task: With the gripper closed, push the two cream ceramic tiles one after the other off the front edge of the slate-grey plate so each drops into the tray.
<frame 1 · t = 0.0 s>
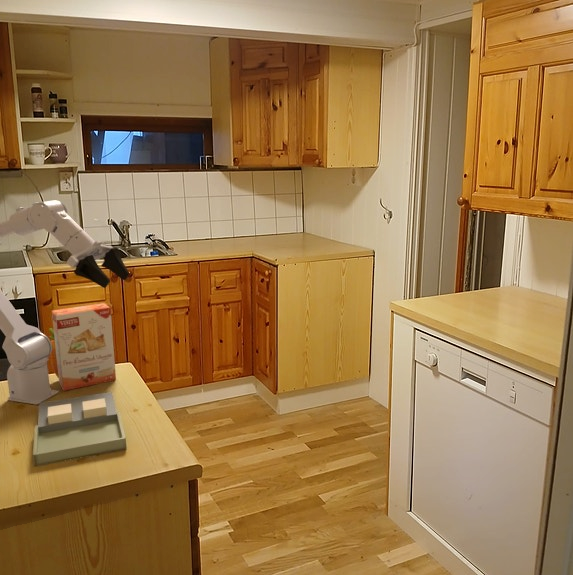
hand: (117, 280, 134), 32 cm above the countertop, tool tilted 50°, fingers open, 7 cm apart
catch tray: (80, 441, 128), on the countertop
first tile: (60, 417, 134), point 2 cm above the countertop, touching slate plate
cracker box: (88, 383, 159), on the countertop
carrot: (61, 381, 161), on the countertop
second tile: (94, 412, 137), point 2 cm above the countertop, touching slate plate
slate plate: (78, 416, 140), on the countertop
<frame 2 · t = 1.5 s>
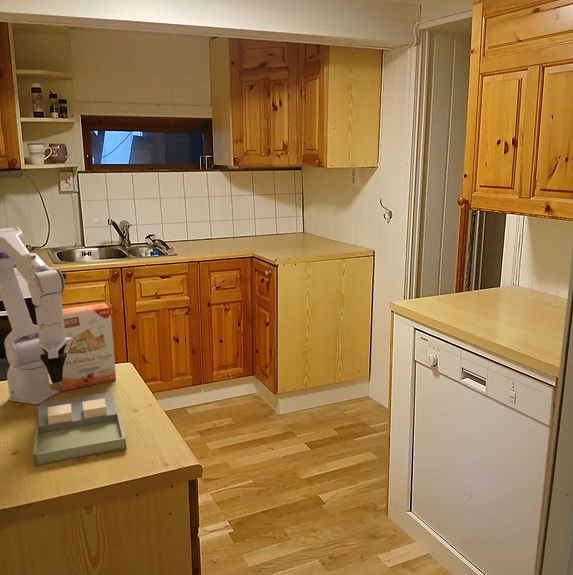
hand: (56, 377, 139), 9 cm above the countertop, tool pointing down, fingers open, 5 cm apart
nothing on the countertop moved.
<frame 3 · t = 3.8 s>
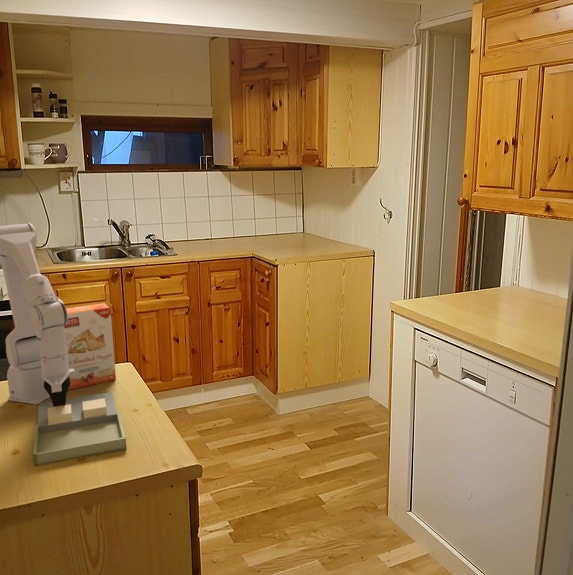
hand: (60, 409, 137), 3 cm above the countertop, tool pointing down, fingers closed
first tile: (60, 418, 134), point 2 cm above the countertop, touching gripper, slate plate
everything else where it was.
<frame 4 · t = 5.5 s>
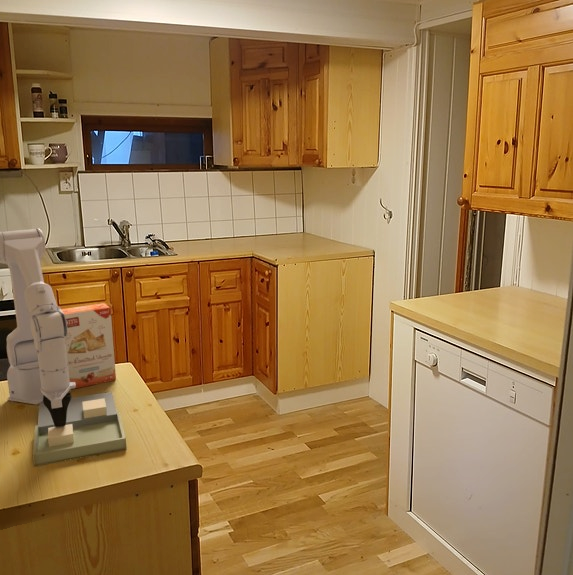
hand: (60, 425, 129), 3 cm above the countertop, tool pointing down, fingers closed
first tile: (61, 439, 128), resting in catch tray
everything else where it was.
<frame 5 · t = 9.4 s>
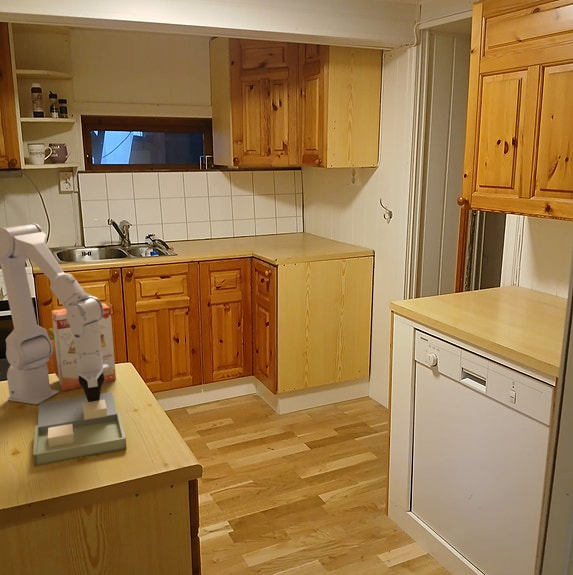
hand: (94, 404, 139), 3 cm above the countertop, tool pointing down, fingers closed
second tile: (95, 413, 136), point 2 cm above the countertop, touching gripper, slate plate
everything else where it was.
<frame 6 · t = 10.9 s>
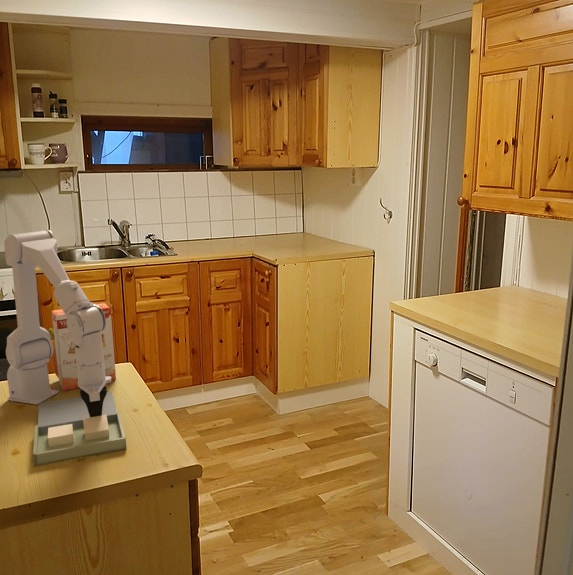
hand: (96, 418, 132), 3 cm above the countertop, tool pointing down, fingers closed
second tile: (96, 431, 130), point 1 cm above the countertop, tilted 15°, touching gripper
everything else where it was.
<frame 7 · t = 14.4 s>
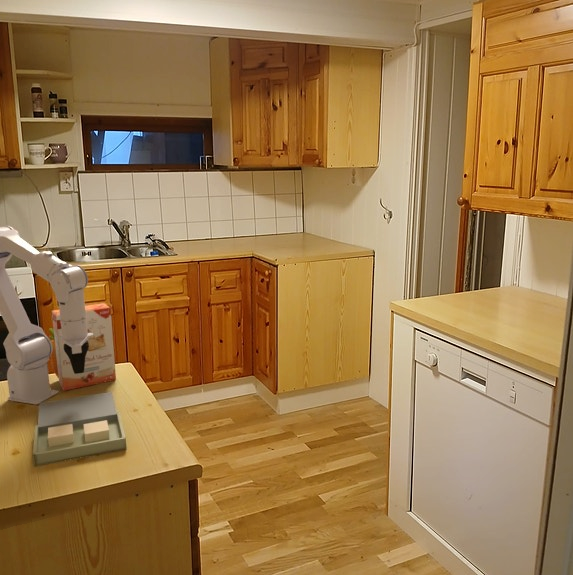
hand: (79, 372, 141), 9 cm above the countertop, tool pointing down, fingers closed
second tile: (96, 435, 129), resting in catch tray
everything else where it was.
at the end: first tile 0.6 cm from the target spot on the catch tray, point 0.4 cm above the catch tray's base; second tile inside the target area on the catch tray (1.7 cm from its centre), point 0.4 cm above the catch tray's base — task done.
